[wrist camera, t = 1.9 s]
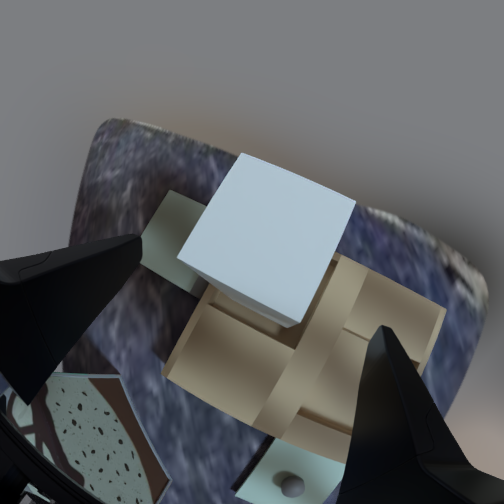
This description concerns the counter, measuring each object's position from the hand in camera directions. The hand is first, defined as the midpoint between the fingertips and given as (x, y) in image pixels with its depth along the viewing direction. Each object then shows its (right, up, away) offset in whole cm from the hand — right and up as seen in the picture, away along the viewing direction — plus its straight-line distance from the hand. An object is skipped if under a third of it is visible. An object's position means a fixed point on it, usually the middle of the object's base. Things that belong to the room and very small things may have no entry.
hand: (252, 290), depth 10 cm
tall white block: (+1, -1, +9) cm, 9 cm away
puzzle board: (-1, -6, +9) cm, 11 cm away
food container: (-11, -13, +8) cm, 19 cm away
